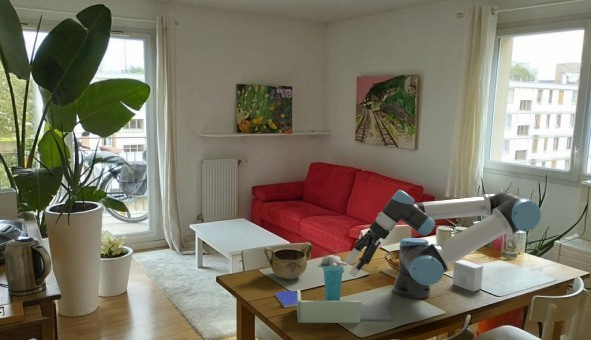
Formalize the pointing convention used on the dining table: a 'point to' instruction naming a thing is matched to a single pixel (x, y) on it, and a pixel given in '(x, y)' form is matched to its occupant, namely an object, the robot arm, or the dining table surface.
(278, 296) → the hard drive
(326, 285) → the tube
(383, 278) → the dining table surface
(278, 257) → the ceramic bowl
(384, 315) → the mat
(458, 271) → the skincare box
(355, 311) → the l-shaped block
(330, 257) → the bunny figurine
